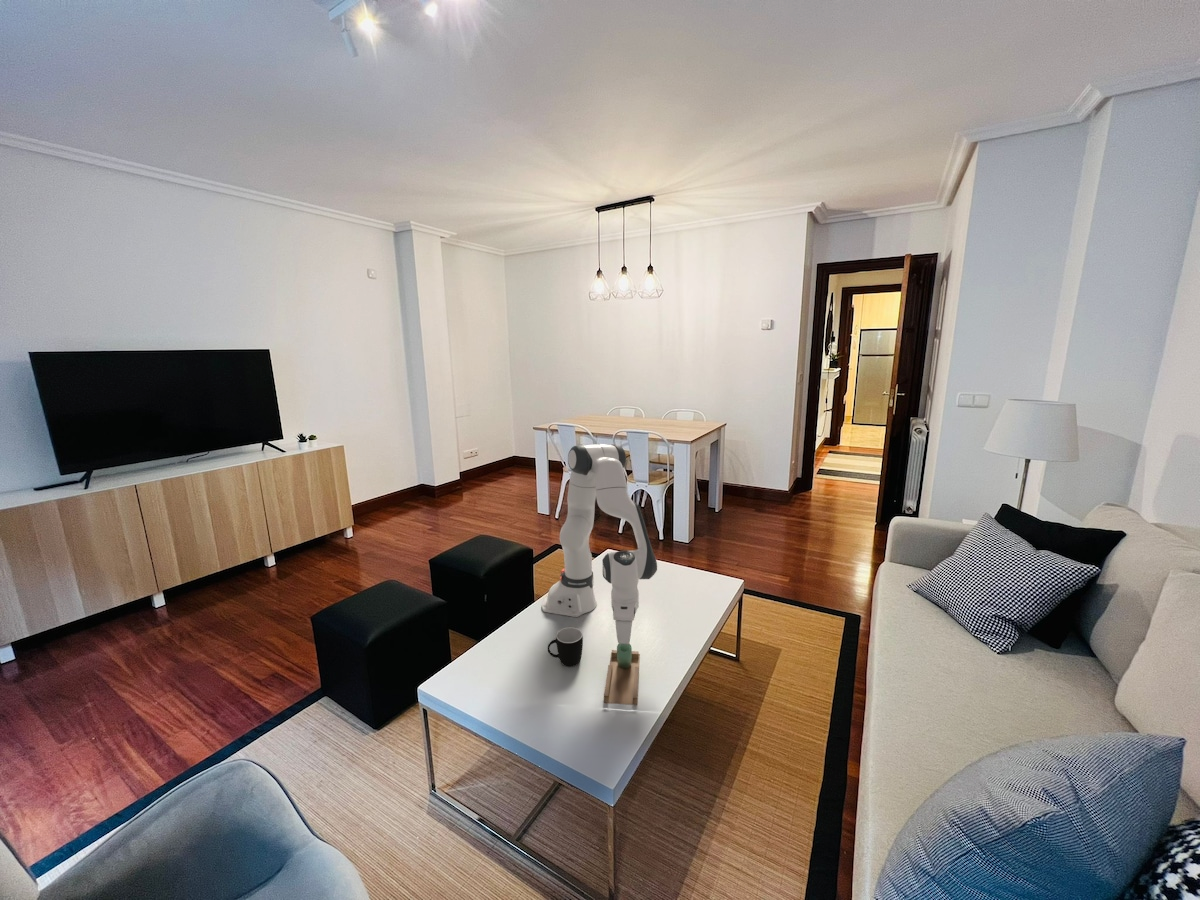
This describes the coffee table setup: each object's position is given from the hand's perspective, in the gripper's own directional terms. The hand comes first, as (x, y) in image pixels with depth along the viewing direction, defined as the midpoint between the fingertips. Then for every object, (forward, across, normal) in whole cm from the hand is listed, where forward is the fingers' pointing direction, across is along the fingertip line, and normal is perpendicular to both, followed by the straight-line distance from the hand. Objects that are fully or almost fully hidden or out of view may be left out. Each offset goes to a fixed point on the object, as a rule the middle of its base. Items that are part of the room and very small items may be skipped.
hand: (625, 639), depth 158 cm
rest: (+10, +5, -1) cm, 12 cm away
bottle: (+9, -1, 0) cm, 9 cm away
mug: (+10, -1, -20) cm, 23 cm away
